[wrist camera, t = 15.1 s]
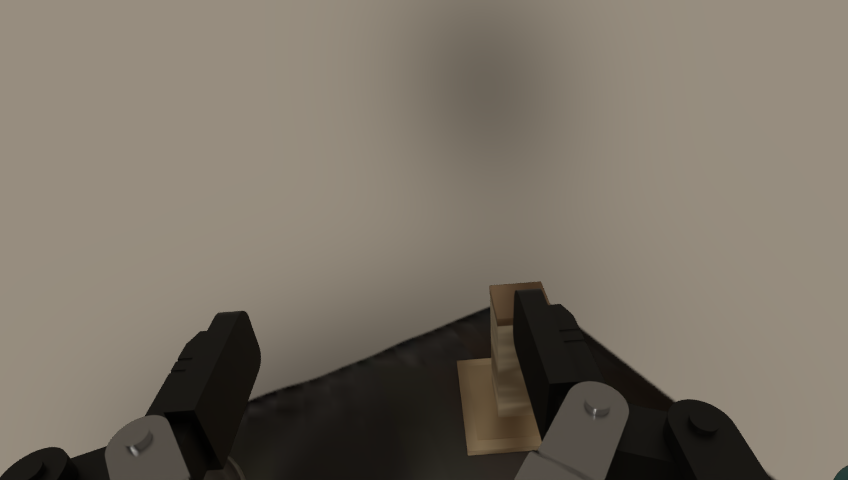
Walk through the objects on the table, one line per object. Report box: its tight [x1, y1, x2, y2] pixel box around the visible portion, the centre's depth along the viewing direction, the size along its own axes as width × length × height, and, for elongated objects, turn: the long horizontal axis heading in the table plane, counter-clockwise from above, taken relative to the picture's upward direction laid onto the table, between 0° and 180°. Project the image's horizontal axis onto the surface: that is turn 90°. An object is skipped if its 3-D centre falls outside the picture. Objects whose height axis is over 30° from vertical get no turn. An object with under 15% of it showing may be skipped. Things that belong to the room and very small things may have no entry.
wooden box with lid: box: [490, 282, 550, 417], centre depth 42 cm, size 5×5×12 cm
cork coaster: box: [457, 358, 542, 456], centre depth 45 cm, size 11×11×1 cm
